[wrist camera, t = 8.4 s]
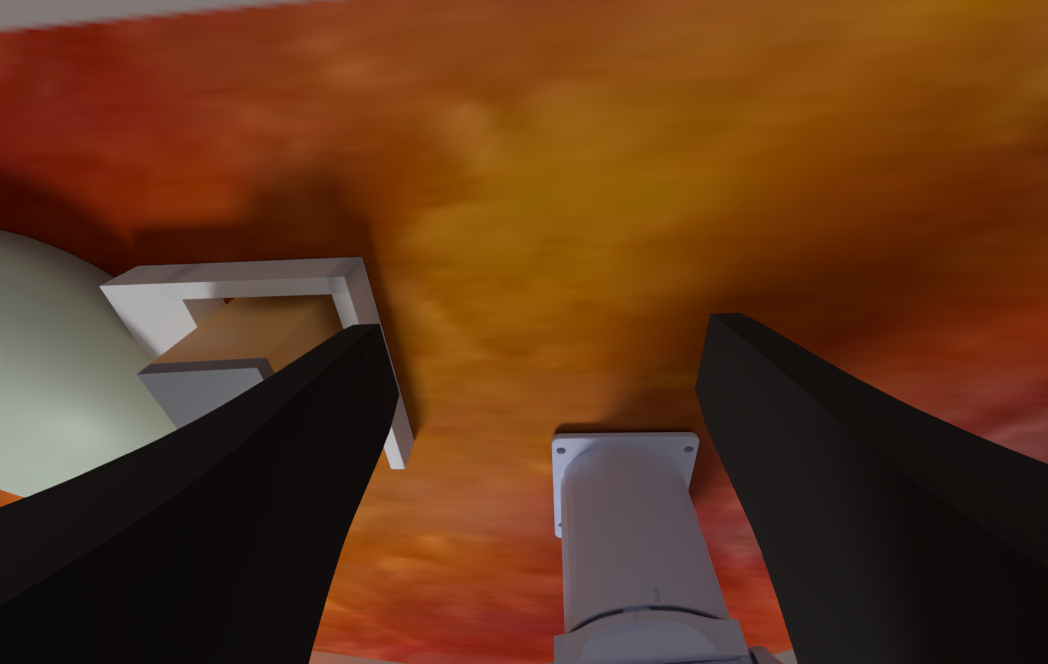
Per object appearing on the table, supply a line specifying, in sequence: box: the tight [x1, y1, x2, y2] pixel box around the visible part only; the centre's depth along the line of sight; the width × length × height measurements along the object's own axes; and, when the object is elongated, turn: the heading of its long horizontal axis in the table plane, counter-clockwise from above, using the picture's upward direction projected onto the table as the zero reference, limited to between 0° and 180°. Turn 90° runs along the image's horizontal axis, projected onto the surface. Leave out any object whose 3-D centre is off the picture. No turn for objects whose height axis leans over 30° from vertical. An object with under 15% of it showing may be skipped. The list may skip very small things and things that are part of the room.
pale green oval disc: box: [0, 230, 414, 498], centre depth 21 cm, size 16×26×3 cm, turn 93°
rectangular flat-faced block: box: [137, 294, 344, 429], centre depth 20 cm, size 8×4×6 cm, turn 6°
